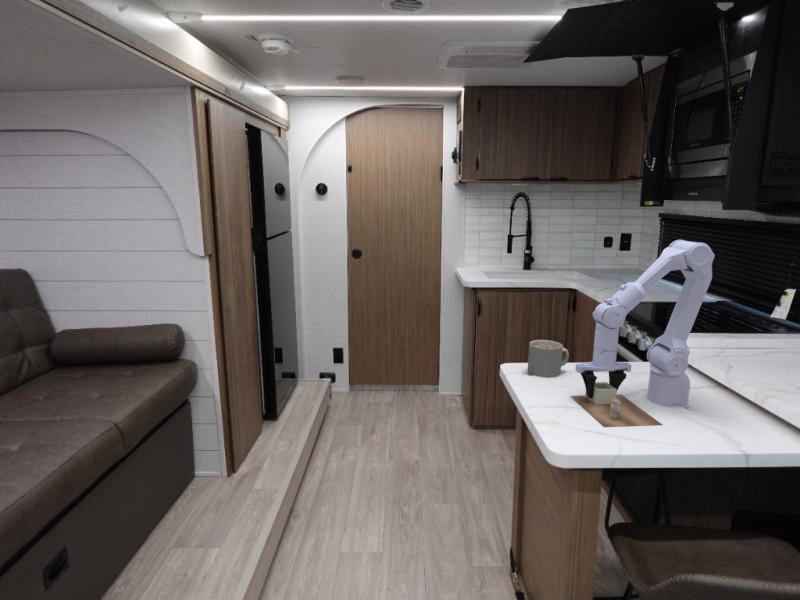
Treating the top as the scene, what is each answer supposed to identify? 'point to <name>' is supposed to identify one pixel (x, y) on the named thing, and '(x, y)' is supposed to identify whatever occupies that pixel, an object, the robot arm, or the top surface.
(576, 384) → the top surface
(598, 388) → the collar
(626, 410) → the post board
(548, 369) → the coffee mug
